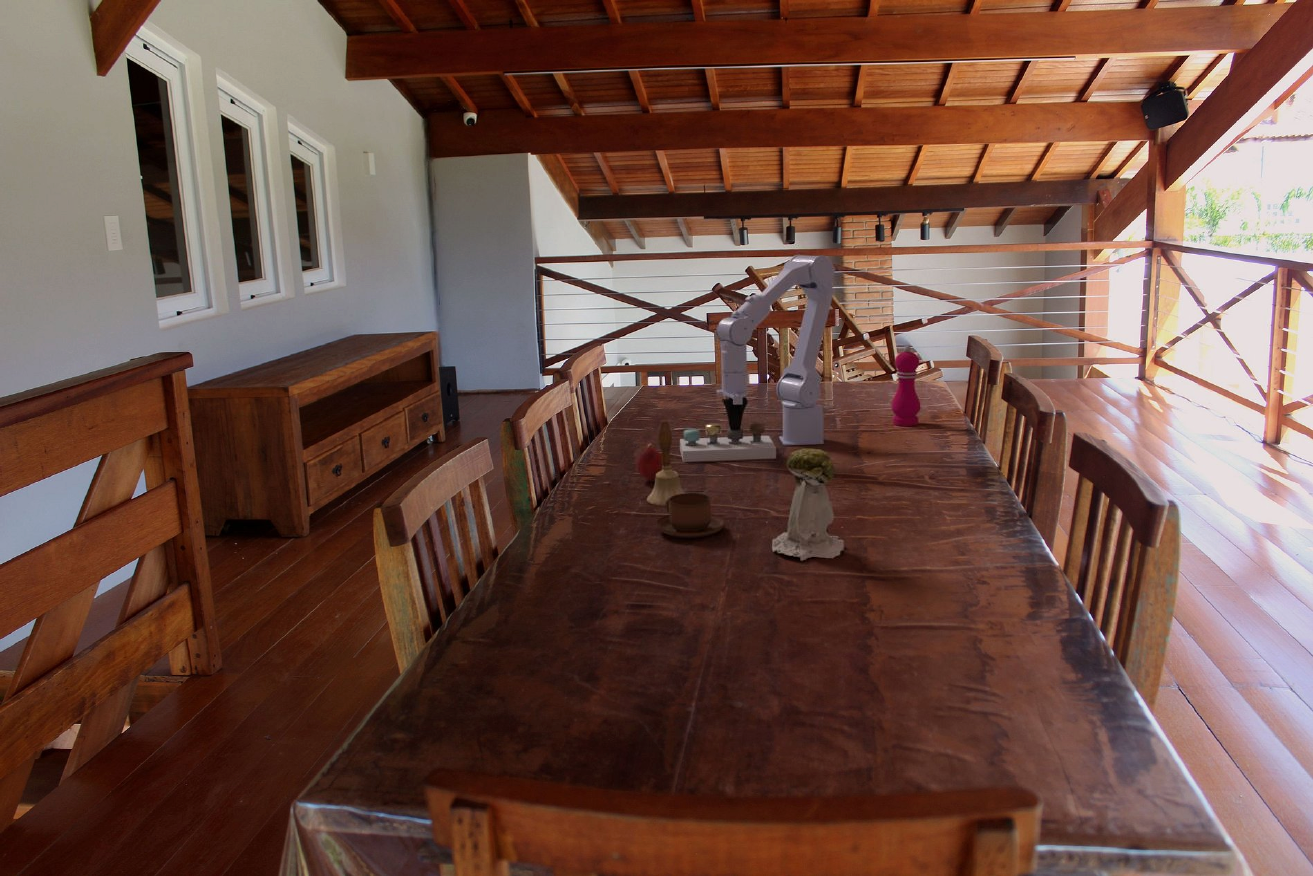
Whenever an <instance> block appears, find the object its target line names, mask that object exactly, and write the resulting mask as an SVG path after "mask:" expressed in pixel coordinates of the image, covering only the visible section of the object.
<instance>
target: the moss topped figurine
mask: <svg viewBox="0 0 1313 876" xmlns="http://www.w3.org/2000/svg"><path fill="white" fill-rule="evenodd" d="M785 466H786V468H787V469H788V471H789V472H790V473H791V474H793V476H794V480H795V483H796V484H797V485H796V487H795V489H794V492H793V496H792V500H791V505H790V510H789V517H788V522H787V531H785V532H783V533H781V534H779V535H777V537H776V538H773V539H772V542H771V543H772V544H771V550H772V552H776V553H777V554H784V555H786V556H791V557H792V556H793V557H797V558H800V561H805V560H807V559H808V558H812V557H815V558H825V559H834V558H835V557H838V556H840V555H841V552H842V551H843V552H845V543H844V542H845V541H844V540H843V539H839V538H840V537H839V536H837V535H830V533H829V525H831V524H832V522H833V521H834V517H835V515H834V510H833V507H832V505H833V503H832V500H830V497H829V495H828V491H827V488H826V486H825V483H827V482H831V481H832V480H833V479H834V477H835V474H834V473H835V463H834V462H833V461H832V459H831V457H830V455H828V453H827V452H826V451H824V450H822V449H818V448H817V449H816V448H801V449H798V450H794V451H791V452H790V455H789V456H788V457H787V461H786V464H785ZM812 535H813V536H812Z"/></svg>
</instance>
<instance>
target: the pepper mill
mask: <svg viewBox="0 0 1313 876" xmlns="http://www.w3.org/2000/svg"><path fill="white" fill-rule="evenodd" d="M911 350H912V348H911V346H909V345H905V346H904V347H903V351H902V352H900V353H898V354H897V355H896V357H895V358H894V366H895V368H896V369H897V371H896V377H897V379H898V385H897V386H898V387H897V390H896V392H895V395H894V397H893V399H892V401H891V405H890V406H891V407H890V408H891V409H890V410H891V411H892V412H893V413H894V416H893V417H892V424H893V425H895V426H898V425H902V426H901V427H912V426H911V425H915V426H918V424H919V417H918V415H917V414H919V412H920V411H921V401H920V399H919V397H918V393H917V390H916V387H915V386H916V385H915V383H916V378H917V377H918V375H917V374H918V371H917V369H918V368H919V365H920V358H919V357H918V355H917V353H915V352H911Z"/></svg>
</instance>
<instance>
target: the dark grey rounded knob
mask: <svg viewBox="0 0 1313 876" xmlns="http://www.w3.org/2000/svg"><path fill="white" fill-rule="evenodd" d="M726 434H727V435H726V437H727V438H728V439H731V445H734V444H739V439H743V437H744V429H743V428H741V427H740V430H731V429H730V427H729V428H727V430H726Z"/></svg>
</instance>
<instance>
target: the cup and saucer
mask: <svg viewBox="0 0 1313 876" xmlns="http://www.w3.org/2000/svg"><path fill="white" fill-rule="evenodd" d="M711 502H712V501H711V497H710V496H709V495H707V494H704V493H697V492H696V493H695V492H688V493H687V492H685V493H684V494H678V495H674V496H672V497H670V498H669V499H668V500H667V501H666V506H665V509H666V511H667V513H668V514H667V515H664V516H661V517H660V518H659V519H657V520H656V522H655V523H656V527H657V528H658V530H659V531H660V532H662V533H663V534H664V535H668V536H670V537H675V538H681V539H682V538H683V539H692V538H693V539H695V538H702V537H707V536H710V535H714V534H715V533H718V532H719V531H721V529H723V527H724V525H725V519H724V518H723V517H721V515H718V514H713V513H712V511H711V510H712V509H711V507H712V506H711V504H712V503H711Z"/></svg>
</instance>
